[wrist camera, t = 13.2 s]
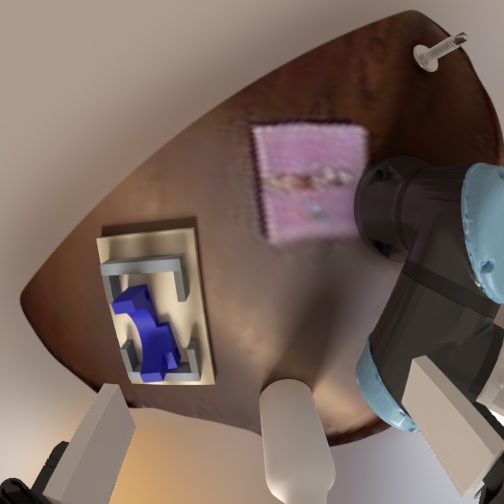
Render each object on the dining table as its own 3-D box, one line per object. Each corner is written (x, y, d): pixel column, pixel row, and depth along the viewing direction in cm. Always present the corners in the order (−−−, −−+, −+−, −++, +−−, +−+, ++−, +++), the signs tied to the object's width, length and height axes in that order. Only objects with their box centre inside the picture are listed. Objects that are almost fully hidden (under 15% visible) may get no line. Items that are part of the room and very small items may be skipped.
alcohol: (296, 417, 46) (329, 563, 17) (251, 407, 45) (260, 567, 16) (319, 382, 44) (376, 539, 15) (271, 370, 43) (300, 548, 14)
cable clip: (181, 356, 41) (173, 380, 35) (154, 359, 41) (143, 382, 35) (156, 281, 38) (142, 298, 32) (127, 287, 38) (111, 303, 32)
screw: (422, 48, 32) (435, 73, 34) (402, 50, 33) (416, 77, 34) (467, 20, 20) (484, 50, 21) (447, 19, 20) (465, 51, 21)
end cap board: (195, 227, 38) (189, 232, 34) (215, 378, 44) (213, 396, 39) (101, 236, 38) (86, 242, 33) (134, 377, 43) (126, 393, 39)
